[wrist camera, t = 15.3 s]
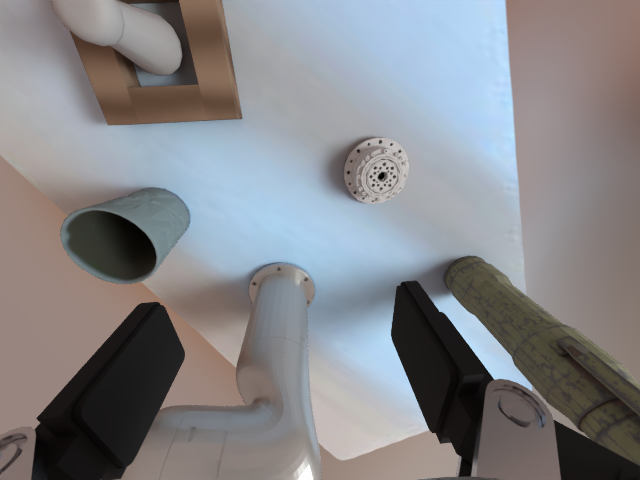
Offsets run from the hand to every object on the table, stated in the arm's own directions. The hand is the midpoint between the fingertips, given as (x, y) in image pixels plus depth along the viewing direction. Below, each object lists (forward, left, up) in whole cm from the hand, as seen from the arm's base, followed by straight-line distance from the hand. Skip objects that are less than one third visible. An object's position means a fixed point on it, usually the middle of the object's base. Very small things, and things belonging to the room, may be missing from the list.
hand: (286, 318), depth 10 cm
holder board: (+16, +15, -30) cm, 37 cm away
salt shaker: (+16, +15, -31) cm, 37 cm away
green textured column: (-22, -32, -31) cm, 49 cm away
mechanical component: (0, -12, -31) cm, 33 cm away
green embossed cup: (-5, +22, -31) cm, 38 cm away
